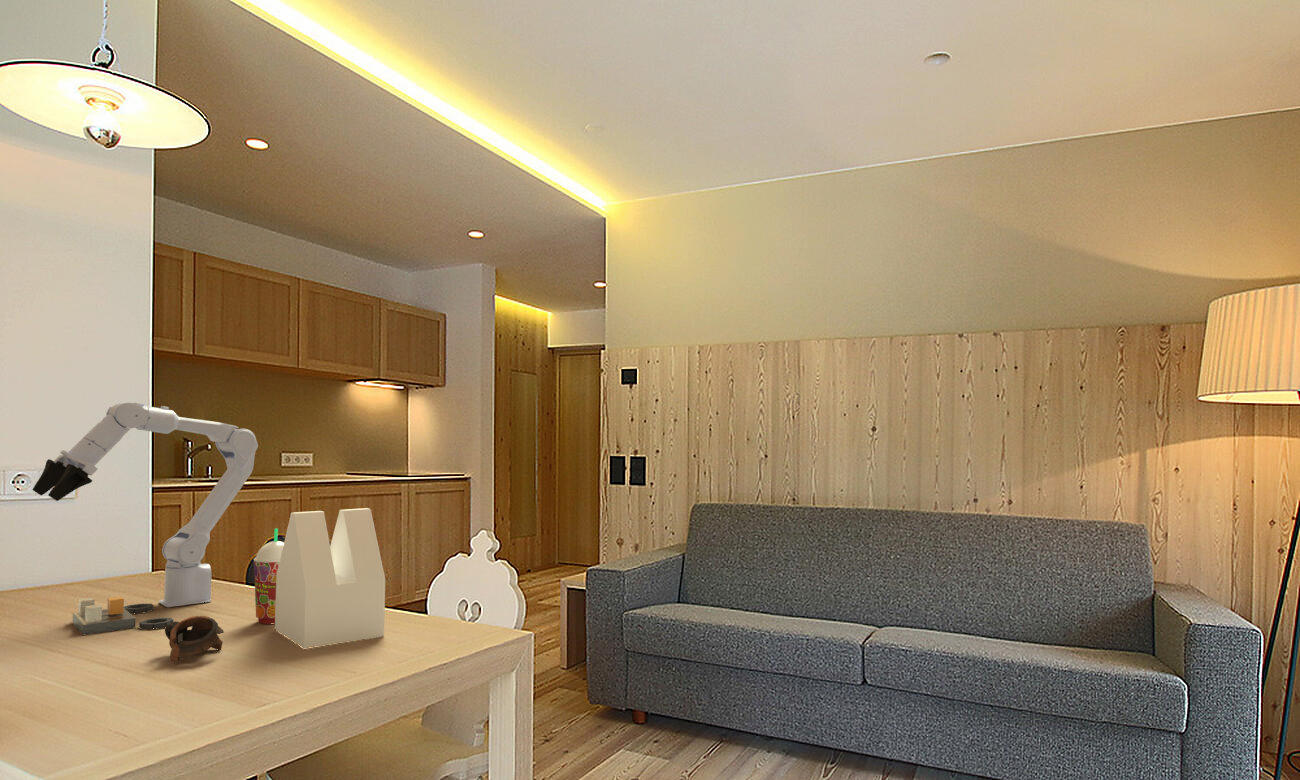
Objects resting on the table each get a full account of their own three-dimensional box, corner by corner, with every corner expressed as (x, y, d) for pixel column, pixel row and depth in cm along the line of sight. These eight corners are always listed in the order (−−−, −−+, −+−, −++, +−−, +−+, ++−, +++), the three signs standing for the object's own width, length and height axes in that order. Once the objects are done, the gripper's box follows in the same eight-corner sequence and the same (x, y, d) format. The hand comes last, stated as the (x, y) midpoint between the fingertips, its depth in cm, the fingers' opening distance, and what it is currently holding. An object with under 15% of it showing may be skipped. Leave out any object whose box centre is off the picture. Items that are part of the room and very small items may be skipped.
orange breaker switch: (120, 610, 168) (121, 596, 169) (123, 613, 166) (123, 598, 166) (107, 612, 167) (107, 598, 167) (109, 614, 165) (110, 600, 165)
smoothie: (242, 623, 167) (245, 529, 168) (274, 615, 174) (277, 525, 176) (271, 627, 164) (274, 531, 165) (303, 619, 171) (305, 527, 172)
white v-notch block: (383, 636, 157) (386, 512, 158) (304, 650, 147) (308, 516, 148) (349, 619, 172) (352, 505, 173) (274, 630, 162) (278, 509, 163)
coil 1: (149, 607, 182) (149, 602, 182) (155, 611, 178) (155, 606, 178) (120, 611, 178) (120, 606, 178) (125, 615, 174) (125, 610, 174)
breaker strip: (122, 616, 173) (123, 593, 173) (135, 627, 163) (136, 603, 163) (72, 622, 167) (73, 599, 167) (82, 635, 157) (83, 609, 157)
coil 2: (168, 621, 168) (169, 616, 168) (175, 626, 164) (175, 621, 164) (137, 626, 164) (137, 620, 164) (143, 631, 160) (143, 625, 160)
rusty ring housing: (238, 652, 147) (234, 619, 143) (198, 689, 139) (192, 654, 135) (186, 632, 149) (180, 599, 146) (143, 667, 141) (136, 633, 137)
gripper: (64, 431, 175) (13, 479, 168) (95, 438, 168) (43, 489, 160) (90, 450, 180) (41, 498, 173) (121, 458, 172) (72, 509, 165)
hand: (44, 495), depth 167 cm, fingers open, 7 cm apart
